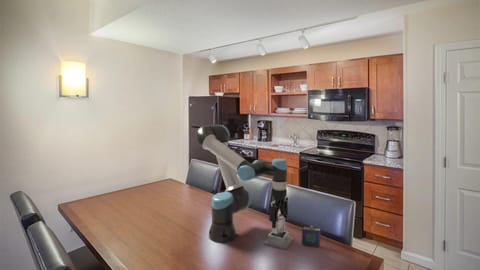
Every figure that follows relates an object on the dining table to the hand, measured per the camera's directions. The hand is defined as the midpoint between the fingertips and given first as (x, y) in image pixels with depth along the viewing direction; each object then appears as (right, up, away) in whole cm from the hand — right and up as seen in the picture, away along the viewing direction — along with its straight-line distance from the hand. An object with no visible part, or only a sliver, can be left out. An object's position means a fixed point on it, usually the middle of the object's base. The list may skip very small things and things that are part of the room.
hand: (278, 231), depth 139 cm
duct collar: (0, -6, +1) cm, 6 cm away
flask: (+16, -7, -2) cm, 18 cm away
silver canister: (0, -5, +1) cm, 5 cm away
